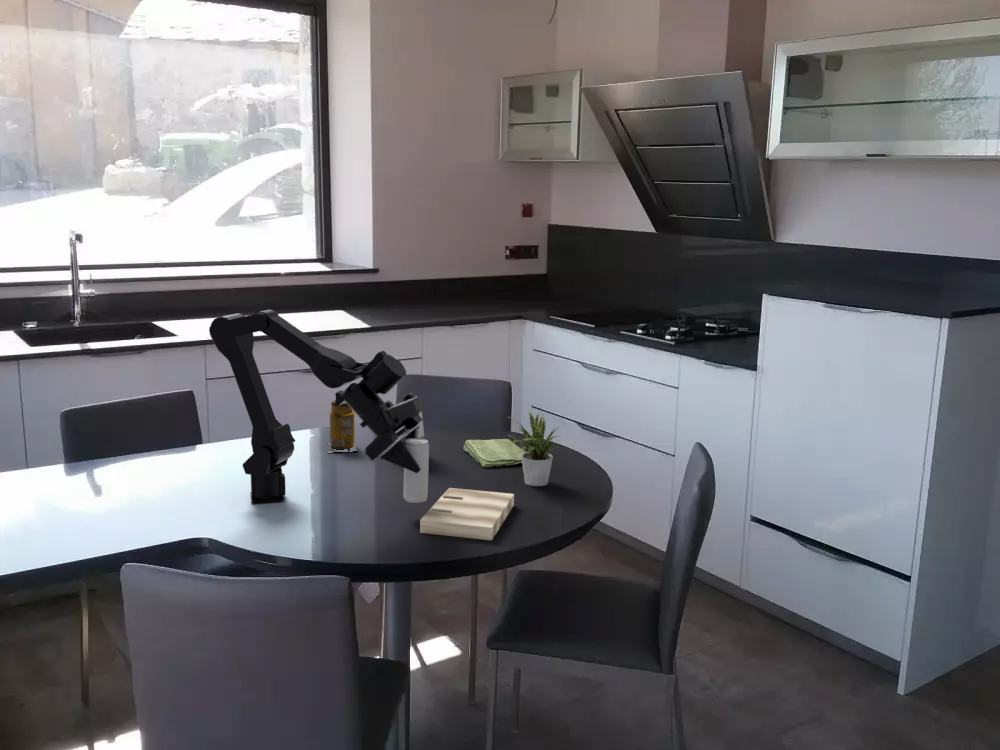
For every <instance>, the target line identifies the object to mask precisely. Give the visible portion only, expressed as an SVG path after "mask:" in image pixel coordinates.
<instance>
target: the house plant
mask: <svg viewBox="0 0 1000 750" xmlns="http://www.w3.org/2000/svg"><path fill="white" fill-rule="evenodd" d="M527 413H528V415H529V422H530V423H529V424H530V428H531V432H532V434H530V433H529V432H528V431H527V429H525V428H524V426H523V425H522V424H521V422H520V421H518V419H515V418H513V417H510V416H507V418H509V419H513V420H514V421H513V420H512V422H514V423H517V424H519V425H520V426H518V425H517V427H518V428H519V431H520V432H521V433H523V435H524V436H525V438H522V439H521V440H519V439H518V438H516V437H515V436H512V435H507V436H509V437H512V439H513V438H514V439H515V440H511V441H512V442H511V443H518V444H519V445H521V451H522V450H523V451H526V453H523V454H522V455H521V457H522V464H521V465H522V471H523V478H524V484H526V485H527V486H531V487H543V486H547V485H548V483H549V477H550V473H551V470H552V469H551V468H552V463H553V457H554V456H553V455H552V454H551V453H550V452H551V451H552V450H554V449H558V448H559V449H561V446H556V447H552V446H553V445H555V443H554V442H553V441H552V440H554V439H555V438H558V437H559V438H560V436H559V435H554V433H555V432H556V431H557V430H558V429H559V427H557V426H558V424H557V425H555V427H554V428H553V429H552V430H551V432H550V433H549V434H548V435H547V438H546V439H545V440H544V438H545V432H546V420H545V417H543V416H544V415H545V413H543V414H542V415H541V414H540V412H538V413H537V414H536V416H535V418H534V416H533V414H532V413H531V412H530V411H529V410H527ZM564 426H566V425H564V424H563V425H561V426H560V428H561V427H564ZM553 435H554V436H553ZM525 441H526V442H528V444H529V445H528V444H527V443H526V442H525ZM511 443H510V444H511ZM510 444H509V445H510ZM551 447H552V448H551Z"/></svg>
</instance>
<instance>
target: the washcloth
mask: <svg viewBox="0 0 1000 750" xmlns="http://www.w3.org/2000/svg"><path fill="white" fill-rule="evenodd" d="M512 441H513V440H510V439H506V438H501V439H500V438H498V439H493V438H492V439H484V440H483V439H467V440H465V442H464V445H463V447H462V448H463V450H464V451H465V452H466V453H467V452H468V453H469V454H470V455H469V454H468V453H467V454H468V455H469V456H470V457H471V456H472V457H473V458H472V457H471V458H472V459H474V458H475V459H474V460H475V461H476V462H478V463H479V464H480V465H481V466H482V467H483V468H486V467H487V468H494V467H493V466H496V467H503V466H502V465H506V466H513V465H520V464H519V463H522V457H521V455H522V454H523V453H526V452H527V450H522V451H521V449H522V447H519V446H518V445H517V444H516V442H514V443H511V442H512ZM510 443H511V444H510ZM509 444H510V445H509ZM506 466H505V467H506ZM487 468H486V469H487Z"/></svg>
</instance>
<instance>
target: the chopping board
mask: <svg viewBox="0 0 1000 750" xmlns="http://www.w3.org/2000/svg"><path fill="white" fill-rule="evenodd" d="M514 505H515V494H514V493H508V492H507V493H506V492H497V491H487V490H475V489H465V488H454V487H448V489H447V490H446V491H444V493H443V494H442V495H441V496H440V497H439V498H438V499H437V500H436V502H435V503H434V504H433V505H432V506H431V507H430V509H429V510H428V511H427V512H426V513H425V514H424V515H423V516H422V517H421V519H420V520H419V533H420V534H429V535H437V536H438V535H440V536H448V537H454V538H455V537H458V538H465V539H466V538H467V539H475V540H485V541H493V539H494V538H495V536H496V535H497V533H498V531H499V530H500V528H501V527H502V525H503V523H504V522H505V520H506V519H507V517H508V515H509V513H511V510H512V509H513V507H514Z"/></svg>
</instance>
